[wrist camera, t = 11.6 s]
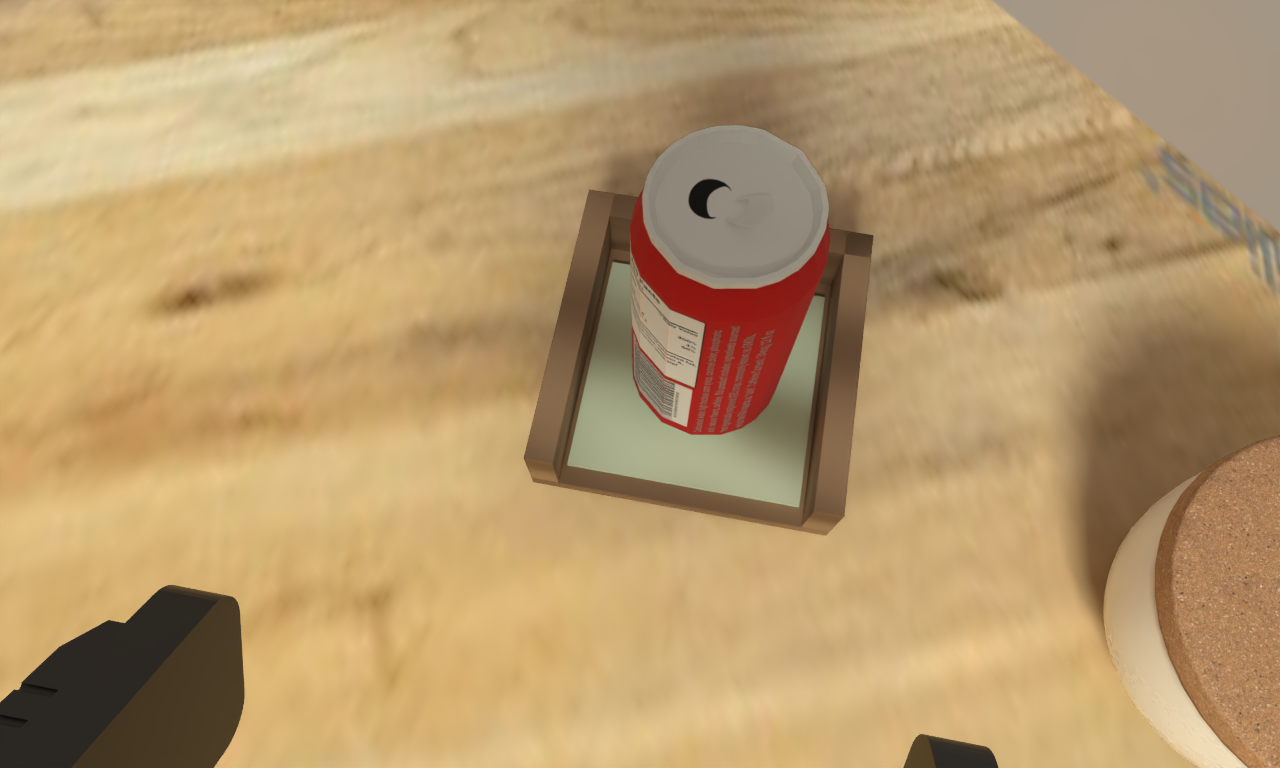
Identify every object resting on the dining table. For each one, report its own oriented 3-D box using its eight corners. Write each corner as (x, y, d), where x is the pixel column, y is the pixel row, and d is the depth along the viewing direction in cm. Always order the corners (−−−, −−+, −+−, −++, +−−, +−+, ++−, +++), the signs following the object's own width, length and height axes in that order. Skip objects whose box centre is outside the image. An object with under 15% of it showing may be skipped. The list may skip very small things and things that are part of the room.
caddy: (825, 535, 33) (844, 516, 30) (533, 482, 33) (523, 458, 30) (854, 274, 37) (873, 235, 34) (593, 231, 37) (589, 189, 34)
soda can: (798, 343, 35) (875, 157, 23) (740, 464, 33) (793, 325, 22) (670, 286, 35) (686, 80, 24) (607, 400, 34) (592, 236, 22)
